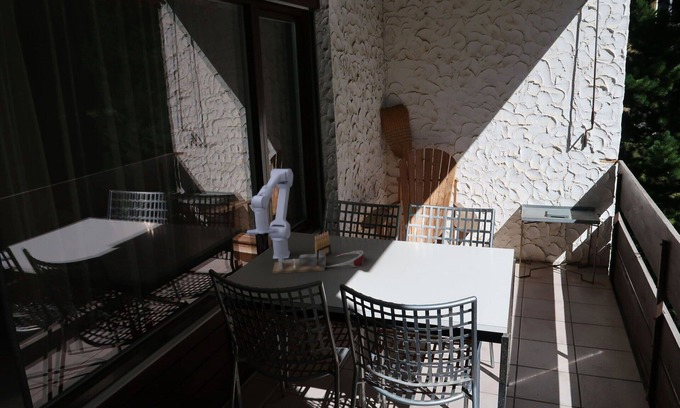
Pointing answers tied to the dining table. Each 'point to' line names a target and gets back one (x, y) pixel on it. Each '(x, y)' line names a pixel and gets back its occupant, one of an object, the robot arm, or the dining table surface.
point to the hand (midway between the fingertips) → (264, 248)
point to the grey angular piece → (285, 261)
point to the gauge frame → (304, 264)
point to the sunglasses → (355, 261)
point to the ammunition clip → (322, 244)
